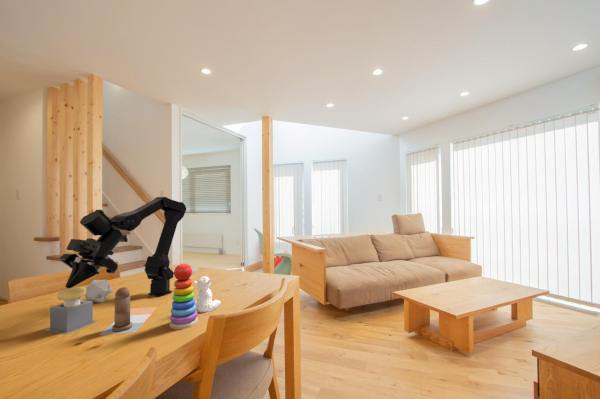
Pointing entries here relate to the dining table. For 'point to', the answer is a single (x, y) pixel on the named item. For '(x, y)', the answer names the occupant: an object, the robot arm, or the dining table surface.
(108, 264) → the robot arm
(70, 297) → the dome button
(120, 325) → the brown round-topped post
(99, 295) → the die
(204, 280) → the seated beast figurine
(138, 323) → the game board
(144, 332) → the dining table surface
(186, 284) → the stacking toy
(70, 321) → the box
